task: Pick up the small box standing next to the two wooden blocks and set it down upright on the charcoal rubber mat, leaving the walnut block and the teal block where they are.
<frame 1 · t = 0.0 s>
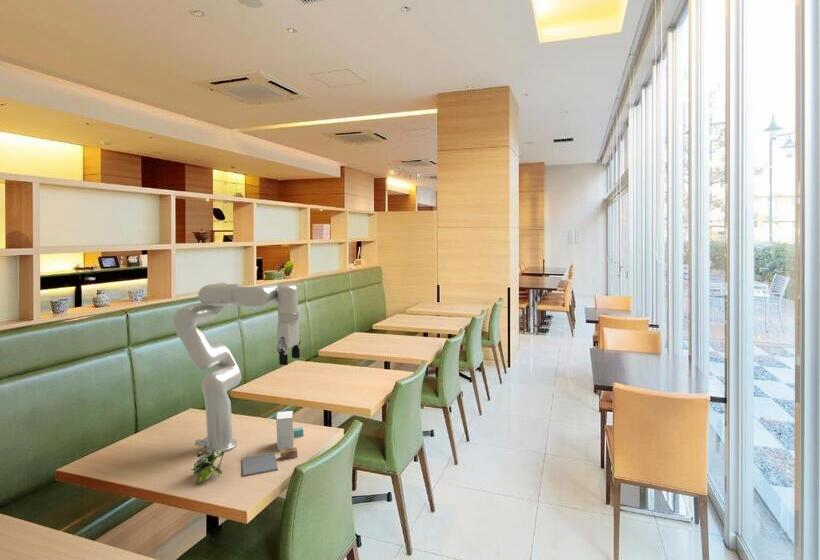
hand: (290, 361, 181), 37 cm above the table, tool pointing down, fingers open, 9 cm apart
passion flower: (210, 476, 169), on the table
small box: (285, 446, 192), on the table
charcoal mat: (259, 464, 176), on the table
walnut block: (289, 457, 182), on the table
teal block: (295, 436, 202), on the table
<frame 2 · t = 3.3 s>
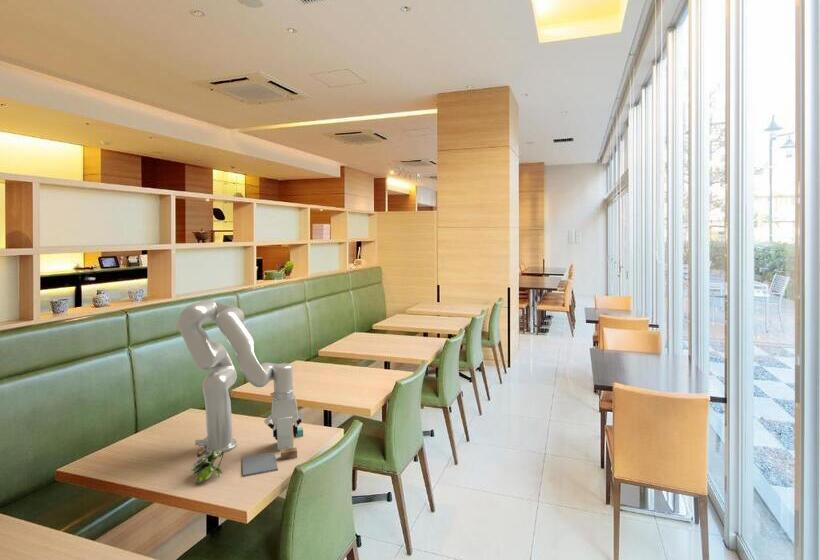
hand: (285, 436, 192), 4 cm above the table, tool pointing down, fingers closed on small box, 6 cm apart
small box: (285, 446, 192), on the table, touching gripper
everything else where it was.
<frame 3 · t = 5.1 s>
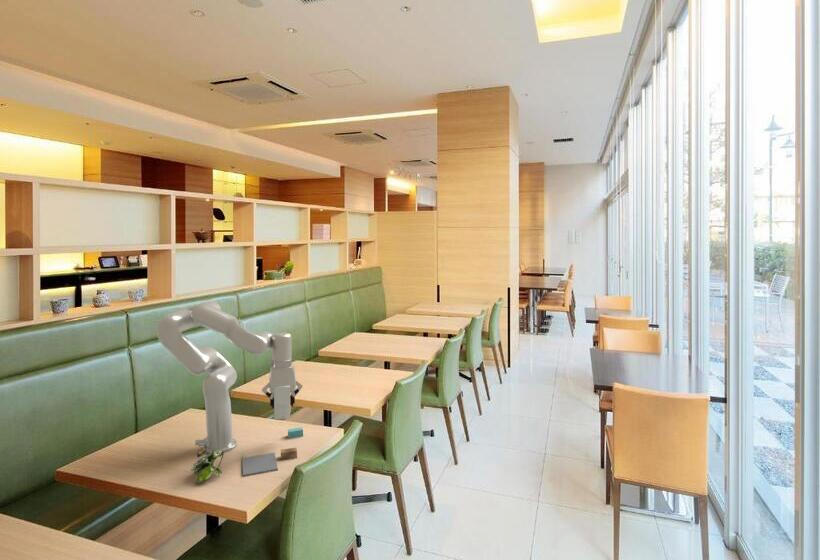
hand: (282, 406, 191), 17 cm above the table, tool pointing down, fingers closed on small box, 6 cm apart
small box: (282, 415, 191), point 13 cm above the table, touching gripper
everything else where it was.
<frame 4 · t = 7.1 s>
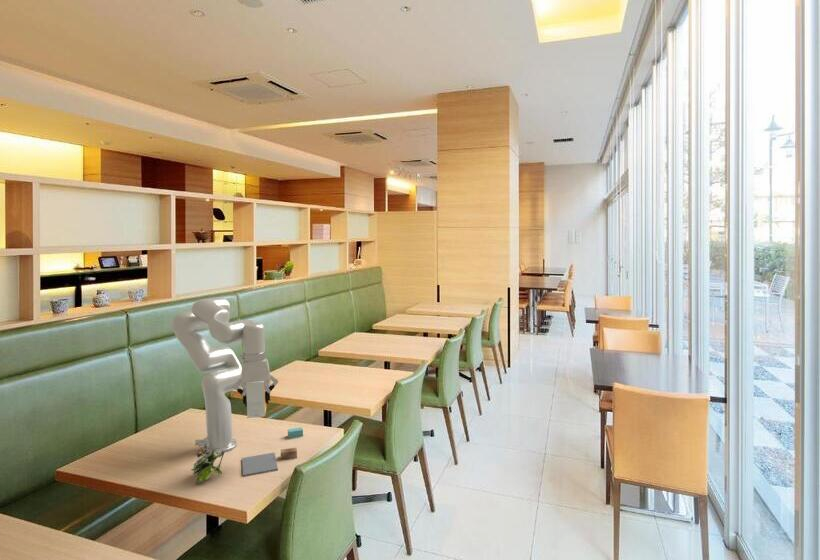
hand: (256, 403, 174), 24 cm above the table, tool pointing down, fingers closed on small box, 6 cm apart
small box: (257, 414, 175), point 20 cm above the table, touching gripper
everything else where it was.
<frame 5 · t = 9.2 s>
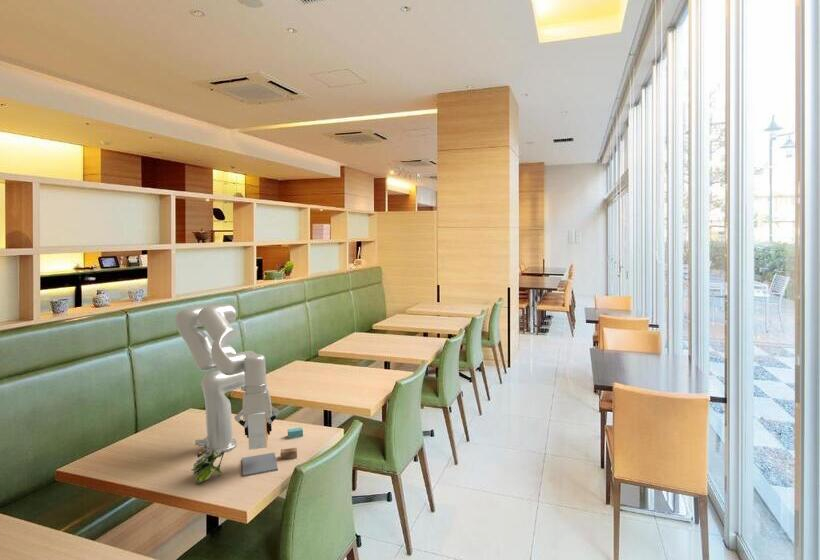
hand: (258, 434, 175), 12 cm above the table, tool pointing down, fingers closed on small box, 6 cm apart
small box: (259, 445, 176), point 8 cm above the table, touching gripper
everything else where it was.
when the fingers open (6 cm above the table, at t = 10.8 s): small box drops 2 cm, resting on charcoal mat.
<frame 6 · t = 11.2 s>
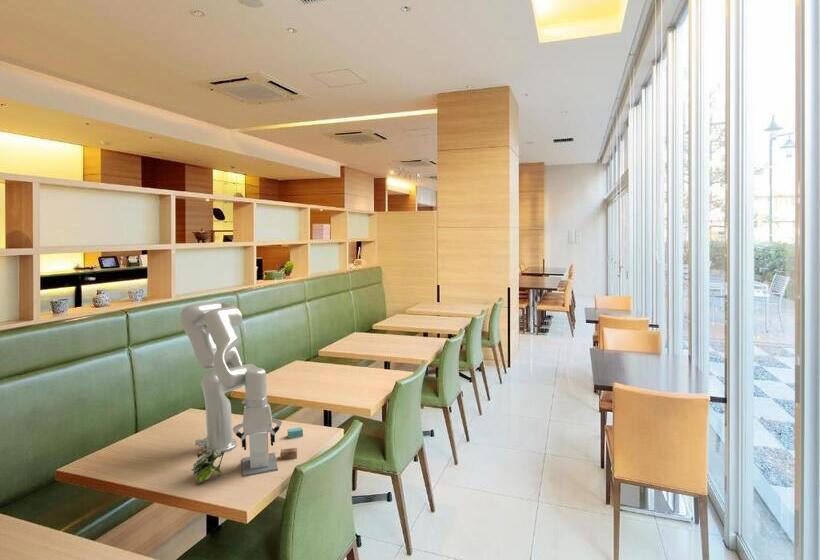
hand: (258, 446, 176), 7 cm above the table, tool pointing down, fingers open, 9 cm apart
small box: (259, 463, 177), resting on charcoal mat
everything else where it was.
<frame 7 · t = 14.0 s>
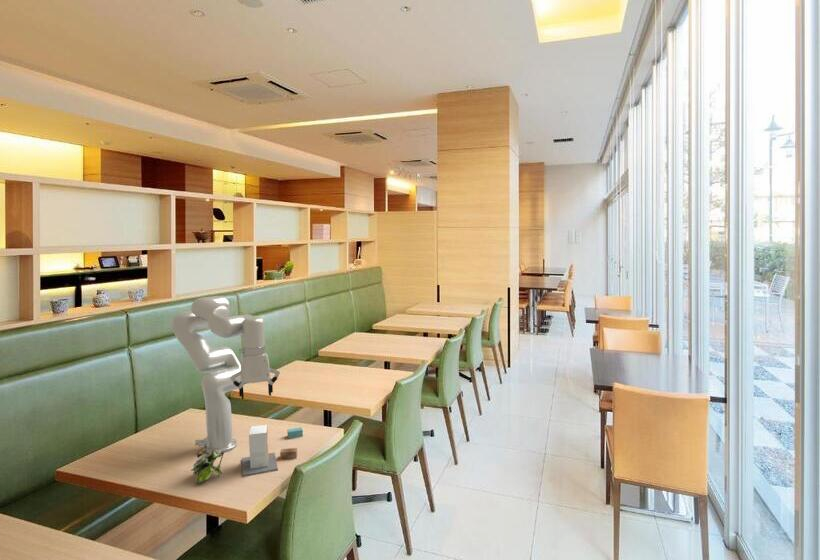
hand: (256, 396, 174), 26 cm above the table, tool pointing down, fingers open, 9 cm apart
nothing on the table moved.
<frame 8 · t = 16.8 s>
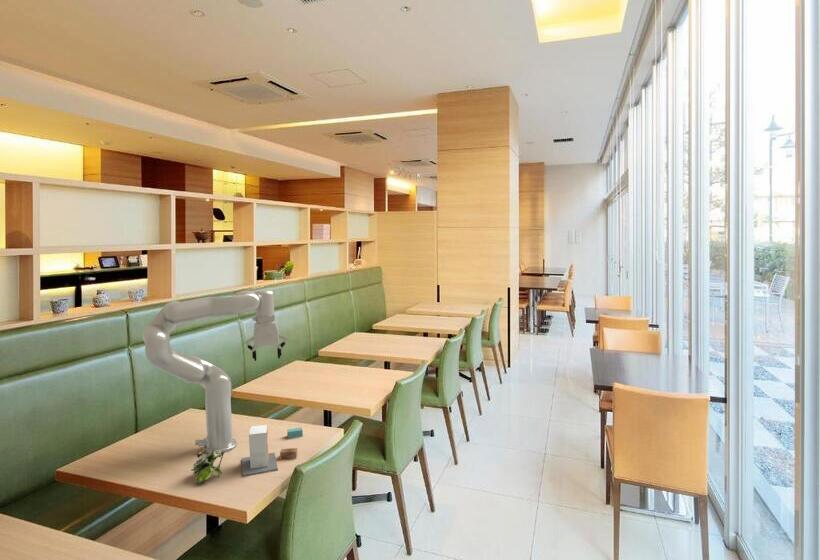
hand: (267, 358, 201), 33 cm above the table, tool pointing down, fingers open, 9 cm apart
nothing on the table moved.
at the end: small box inside the target area on the charcoal mat (0.1 cm from its centre), point 0.4 cm above the charcoal mat's base; small box tilted 0°; walnut block moved 0.2 cm from its start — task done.
